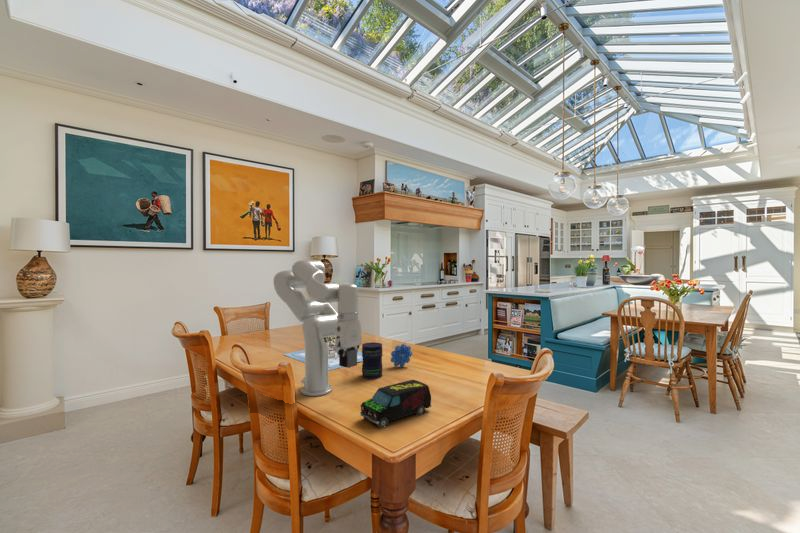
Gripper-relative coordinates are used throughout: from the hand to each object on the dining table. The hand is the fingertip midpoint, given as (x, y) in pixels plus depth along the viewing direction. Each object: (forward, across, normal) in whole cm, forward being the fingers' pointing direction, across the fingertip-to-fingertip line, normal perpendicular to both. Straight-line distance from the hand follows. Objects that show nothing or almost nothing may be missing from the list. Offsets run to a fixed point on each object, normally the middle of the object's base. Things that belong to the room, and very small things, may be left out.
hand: (348, 364), depth 135 cm
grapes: (+16, +53, +14) cm, 57 cm away
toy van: (+16, +3, -21) cm, 26 cm away
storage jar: (+16, +32, +15) cm, 38 cm away
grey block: (0, 0, 0) cm, 0 cm away
